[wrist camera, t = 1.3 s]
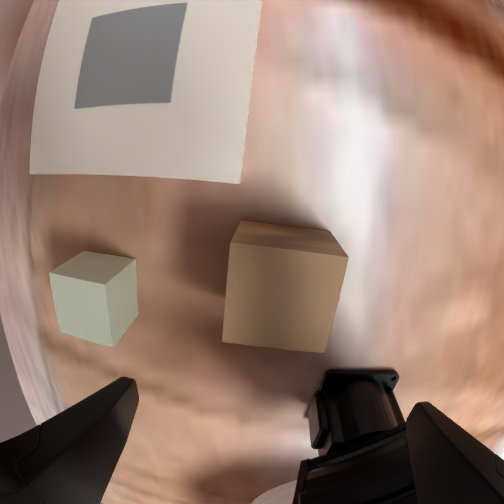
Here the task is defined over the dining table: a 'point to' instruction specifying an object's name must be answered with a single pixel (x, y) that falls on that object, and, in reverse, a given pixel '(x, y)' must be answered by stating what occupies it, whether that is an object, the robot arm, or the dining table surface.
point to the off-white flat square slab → (146, 89)
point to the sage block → (95, 296)
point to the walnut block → (282, 286)
